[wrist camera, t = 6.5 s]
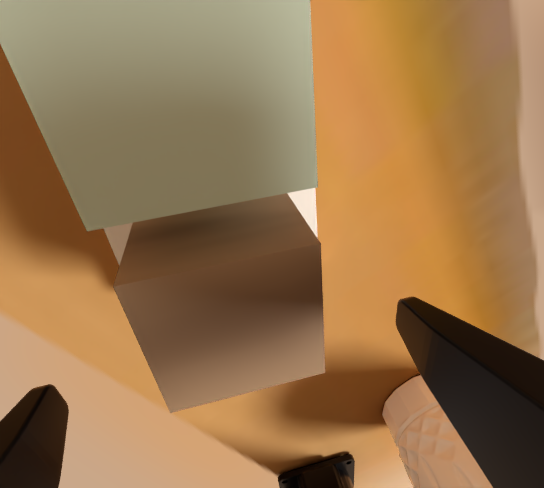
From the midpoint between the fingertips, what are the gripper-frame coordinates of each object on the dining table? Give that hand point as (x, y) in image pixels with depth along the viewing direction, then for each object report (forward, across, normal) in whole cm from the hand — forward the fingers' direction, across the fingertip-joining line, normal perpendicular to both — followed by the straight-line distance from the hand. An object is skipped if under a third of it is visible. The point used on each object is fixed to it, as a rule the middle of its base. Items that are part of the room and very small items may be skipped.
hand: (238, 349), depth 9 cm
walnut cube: (+6, 0, 0) cm, 6 cm away
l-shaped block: (+8, 0, -3) cm, 8 cm away
